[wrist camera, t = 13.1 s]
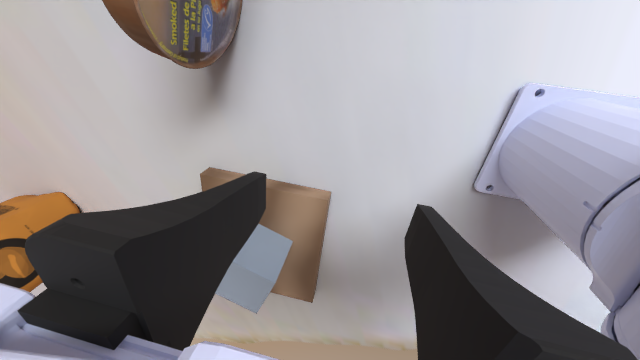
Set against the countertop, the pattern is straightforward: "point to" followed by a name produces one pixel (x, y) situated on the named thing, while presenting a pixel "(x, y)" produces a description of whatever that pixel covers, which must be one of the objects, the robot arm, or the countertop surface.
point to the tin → (179, 27)
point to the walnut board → (289, 229)
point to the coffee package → (26, 233)
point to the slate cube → (255, 269)
